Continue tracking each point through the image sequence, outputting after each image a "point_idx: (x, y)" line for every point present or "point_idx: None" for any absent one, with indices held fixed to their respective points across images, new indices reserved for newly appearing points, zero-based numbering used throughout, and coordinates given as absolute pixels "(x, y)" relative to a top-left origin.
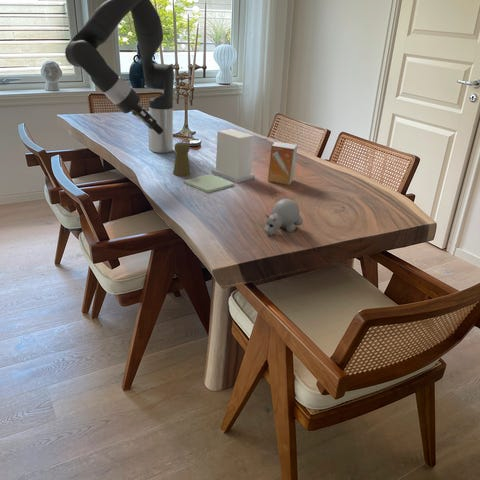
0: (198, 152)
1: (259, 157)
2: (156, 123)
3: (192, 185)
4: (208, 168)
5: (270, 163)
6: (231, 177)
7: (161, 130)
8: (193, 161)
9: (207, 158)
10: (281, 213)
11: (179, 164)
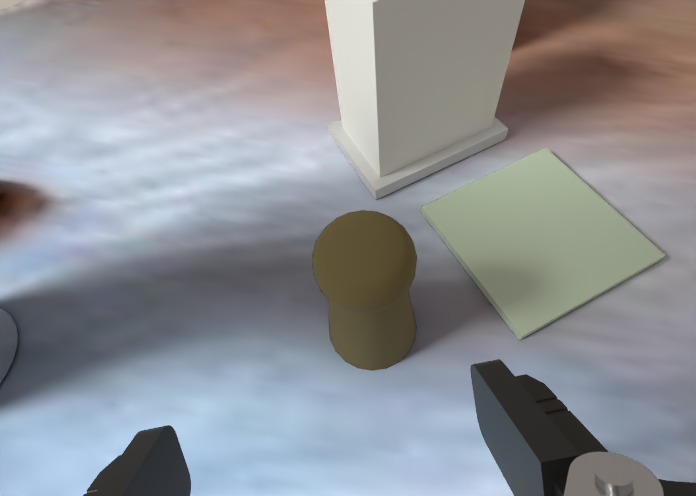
0: (84, 203)
1: (226, 40)
2: (569, 449)
3: (575, 307)
4: (314, 202)
5: None
6: (480, 142)
7: (532, 387)
8: (201, 243)
9: (179, 184)
10: None
11: (405, 321)
